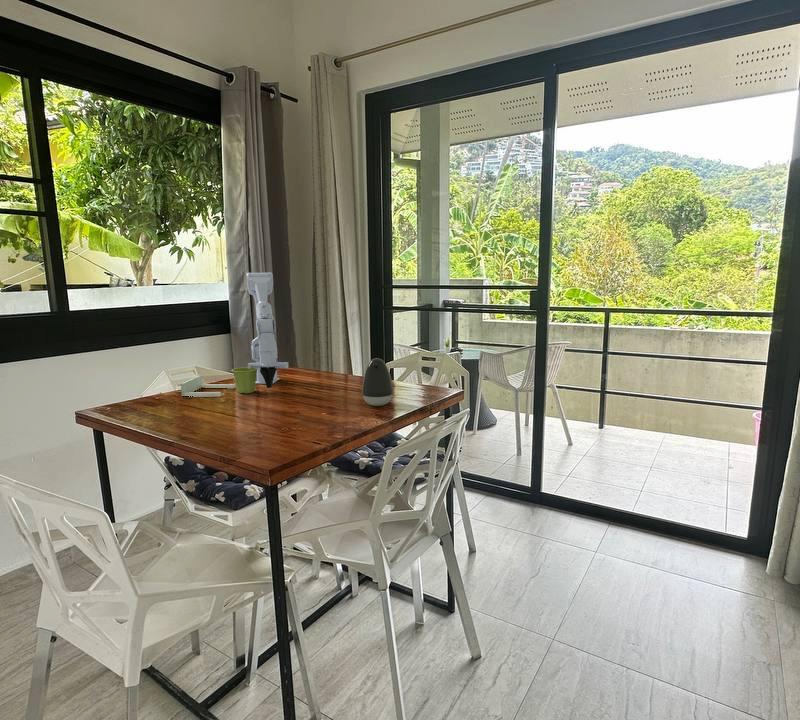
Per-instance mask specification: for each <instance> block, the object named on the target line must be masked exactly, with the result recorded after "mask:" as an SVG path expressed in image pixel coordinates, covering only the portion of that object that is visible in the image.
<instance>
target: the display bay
mask: <svg viewBox="0 0 800 720" xmlns="http://www.w3.org/2000/svg"><path fill="white" fill-rule="evenodd" d="M201 387H205V388H227V389H236V383H227V384H226V383H223V384H221V383H219V384H218V383H217V384H216V383H213V384H212V383H211V384H210V383H208V384H207V383H206V384H203V379H202V375H197V376H194V377H193V378H191V379H188V380H186V381H184V382H181V383H180V391H181V392H180V393H181V397H182V396H189V397H188V398H205V397H206V398H213V397H214V398H216V397H218V398H219V397H222V392H221V391H203V392H202V391H200V392H199V391H196V392H194V391H195V390H197V389H199V388H201ZM190 396H191V397H190ZM192 396H193V397H192Z"/></svg>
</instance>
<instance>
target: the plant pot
mask: <svg viewBox="0 0 800 720" xmlns="http://www.w3.org/2000/svg"><path fill="white" fill-rule="evenodd" d="M257 370H258V368H251V369H248V366H247V367H246V366H244V367H237V368H232V369H231V372H232V375H233V376H234V380H235V386H236V389H237V393H239V394H250V393H253V392H255V391H256V384H255V383H256V381H257Z"/></svg>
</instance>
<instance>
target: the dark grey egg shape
mask: <svg viewBox="0 0 800 720" xmlns="http://www.w3.org/2000/svg"><path fill="white" fill-rule="evenodd" d="M364 372H365V373H364V377H363V380H362V388H361V394H362V396H363V399H364V402H366V403H367V404H368V405H370V406H372V407H382V406H386V405H387V404H389V403H390V401H391V399H392V398H393V394H394V385H393V381H392V377H391V376H392V375H391V373H390V370H389V368H388V366H387V364H386V363H385V361H384V360H383V359H381V358H378V357H375V358H372V359H370V361H369V362H368V364H367V366H366V368H365V371H364Z"/></svg>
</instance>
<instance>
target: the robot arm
mask: <svg viewBox="0 0 800 720" xmlns="http://www.w3.org/2000/svg"><path fill="white" fill-rule="evenodd" d="M246 283H247V284H246V286H247V291H248V294H249V295H251V296H252V297H253V299H254V302H255V315H256V321H255V327H256V332H257V335H256V337H255V338H254V339H252V341H251V346H250V347H251V359H252V361H255V362H249V363H247V367H248V369H251V368H258V370H257V373H256V383H255V385H257V384H260V385H261V384H263V385H266V388H267V389H271V388H272V387H273V384H275V383H276V382H277V381H278V380H280V378H279V377H278V374H277V373H278V372H277V370H278V369H288V368H289V361H288V362H287V361H283V362H282V361H277V358H278V347H277V341H276V338H275V337H276V336H275V334H276V321H275V317H274V315H273V310H272V305H271V303H269V301H268V296H269V295H271V294H272V293H273V291H274V290H273V287H274V276H273V273H272V272H271V271H269V272H247V273H246Z"/></svg>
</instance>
